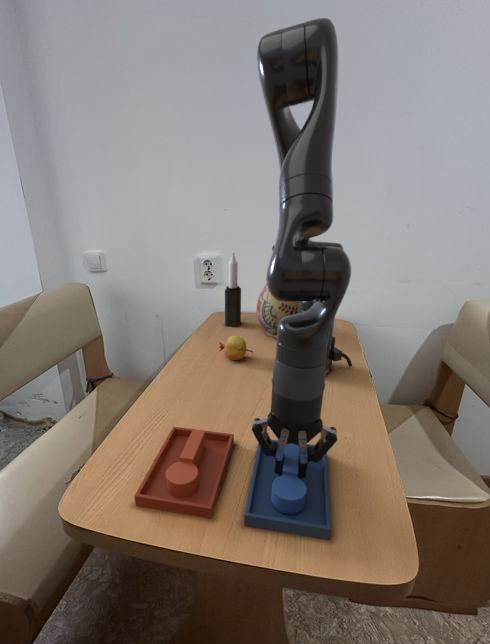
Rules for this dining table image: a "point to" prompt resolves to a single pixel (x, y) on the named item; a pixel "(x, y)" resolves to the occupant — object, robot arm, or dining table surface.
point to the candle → (233, 296)
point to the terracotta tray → (209, 475)
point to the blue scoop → (289, 484)
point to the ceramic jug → (273, 311)
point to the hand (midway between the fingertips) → (289, 475)
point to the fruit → (234, 348)
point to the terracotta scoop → (187, 467)
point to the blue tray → (266, 516)
